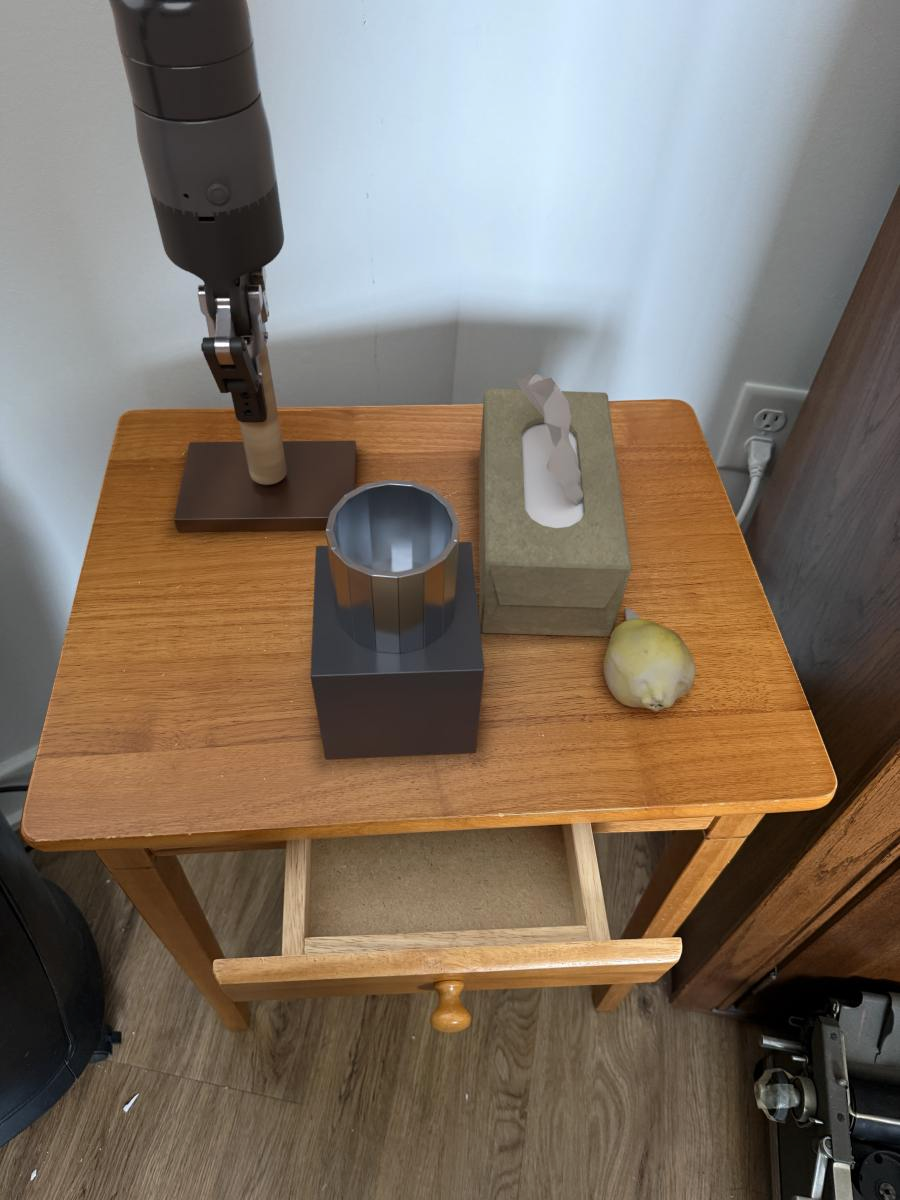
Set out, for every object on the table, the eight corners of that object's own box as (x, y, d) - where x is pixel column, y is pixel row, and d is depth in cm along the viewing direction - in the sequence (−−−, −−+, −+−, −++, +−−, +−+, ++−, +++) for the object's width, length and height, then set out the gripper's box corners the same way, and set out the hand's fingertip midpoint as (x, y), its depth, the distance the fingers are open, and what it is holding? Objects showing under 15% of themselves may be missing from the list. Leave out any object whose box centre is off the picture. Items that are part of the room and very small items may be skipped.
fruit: (663, 614, 67) (714, 717, 60) (587, 640, 67) (628, 745, 60) (654, 561, 63) (706, 665, 56) (572, 589, 63) (614, 695, 56)
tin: (313, 623, 53) (301, 545, 48) (374, 544, 57) (370, 463, 52) (419, 671, 51) (419, 596, 46) (475, 586, 55) (481, 507, 50)
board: (177, 532, 71) (173, 519, 69) (192, 454, 76) (189, 441, 75) (354, 530, 71) (353, 517, 70) (356, 453, 77) (355, 440, 76)
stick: (242, 477, 72) (214, 352, 62) (263, 454, 73) (240, 330, 64) (273, 490, 71) (250, 366, 61) (294, 467, 73) (275, 343, 63)
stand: (324, 759, 59) (310, 676, 51) (328, 636, 65) (315, 545, 57) (476, 753, 59) (484, 670, 51) (465, 632, 65) (471, 541, 57)
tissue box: (479, 459, 77) (490, 297, 64) (592, 463, 77) (625, 302, 64) (479, 637, 65) (493, 481, 53) (612, 641, 65) (657, 487, 53)
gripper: (166, 120, 57) (215, 346, 71) (126, 237, 48) (191, 469, 62) (284, 121, 57) (310, 346, 71) (265, 237, 49) (299, 468, 62)
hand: (254, 402), depth 66 cm, fingers closed on stick, 3 cm apart
